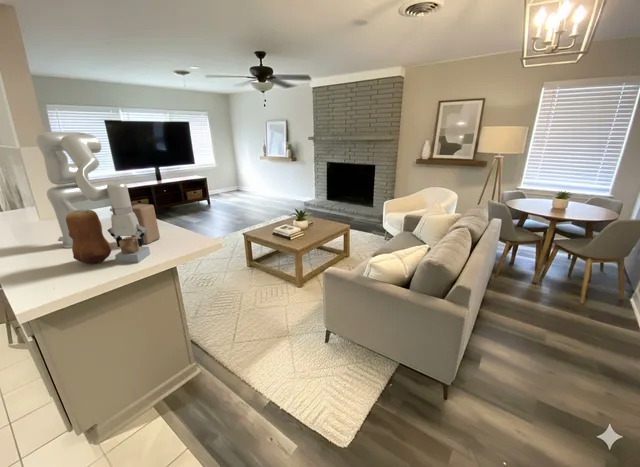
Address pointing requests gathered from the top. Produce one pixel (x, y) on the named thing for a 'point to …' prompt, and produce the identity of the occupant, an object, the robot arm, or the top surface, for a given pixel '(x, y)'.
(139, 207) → the block
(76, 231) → the butternut squash
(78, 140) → the robot arm
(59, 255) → the top surface
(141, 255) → the pedestal
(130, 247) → the walnut cube
